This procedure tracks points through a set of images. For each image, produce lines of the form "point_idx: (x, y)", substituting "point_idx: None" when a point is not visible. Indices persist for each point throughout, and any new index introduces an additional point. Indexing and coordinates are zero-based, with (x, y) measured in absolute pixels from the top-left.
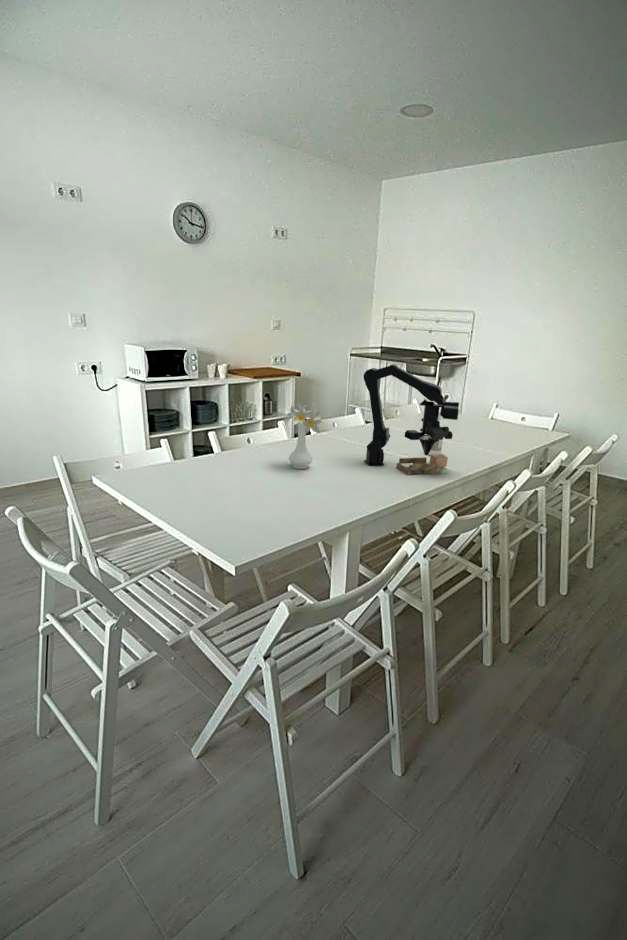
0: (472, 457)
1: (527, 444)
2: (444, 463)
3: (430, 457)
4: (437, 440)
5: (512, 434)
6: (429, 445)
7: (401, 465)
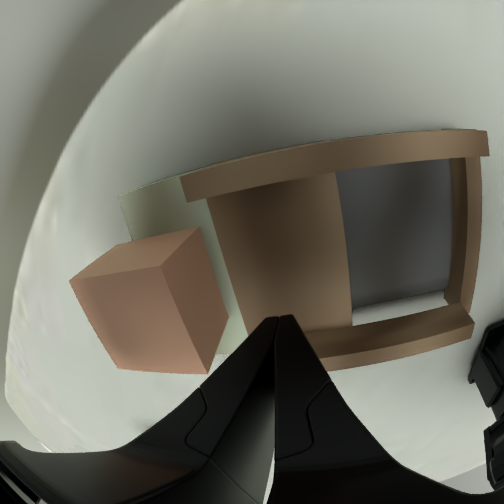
0: (60, 385)
1: (16, 402)
2: (117, 251)
3: (214, 349)
4: (9, 459)
5: (48, 439)
6: (233, 435)
7: (472, 261)
